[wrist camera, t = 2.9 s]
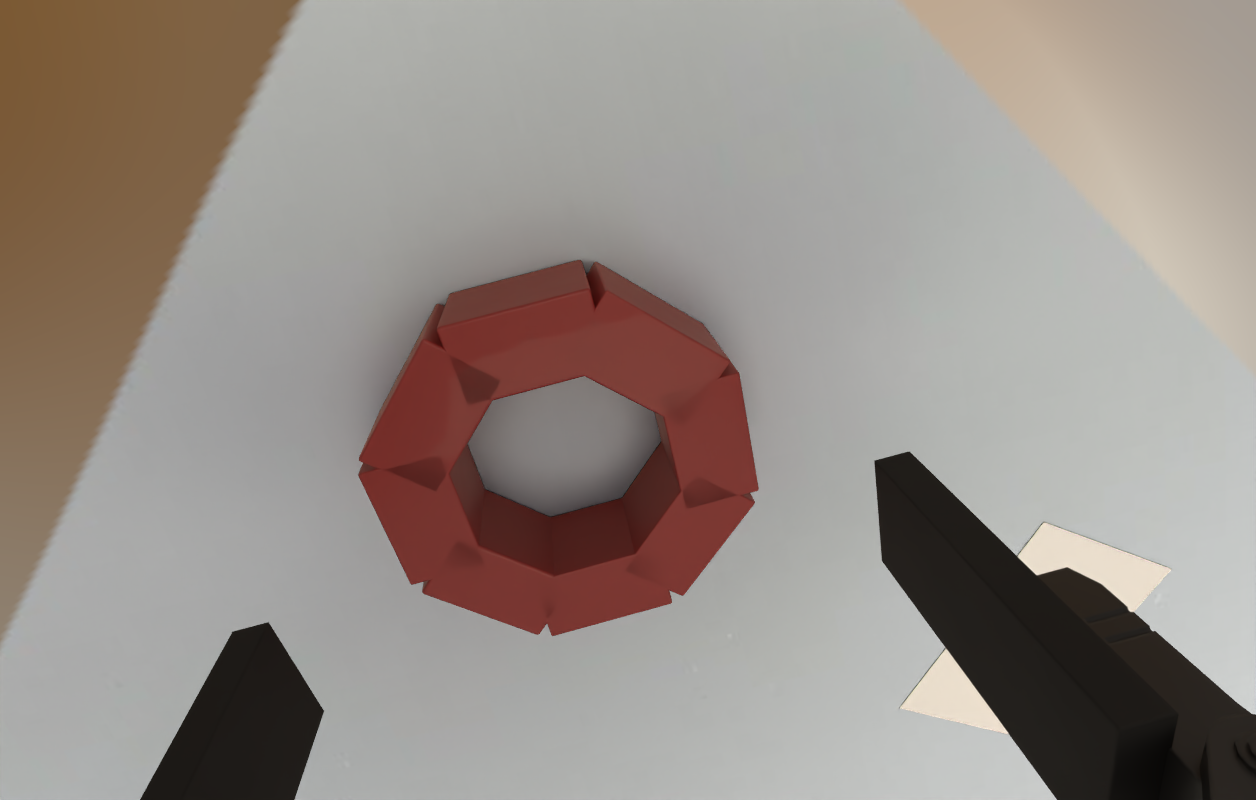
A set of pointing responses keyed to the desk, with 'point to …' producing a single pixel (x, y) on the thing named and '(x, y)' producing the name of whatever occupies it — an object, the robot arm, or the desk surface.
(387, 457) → the ring
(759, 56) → the desk surface
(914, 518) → the robot arm
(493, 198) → the desk surface
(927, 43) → the desk surface
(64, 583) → the desk surface
